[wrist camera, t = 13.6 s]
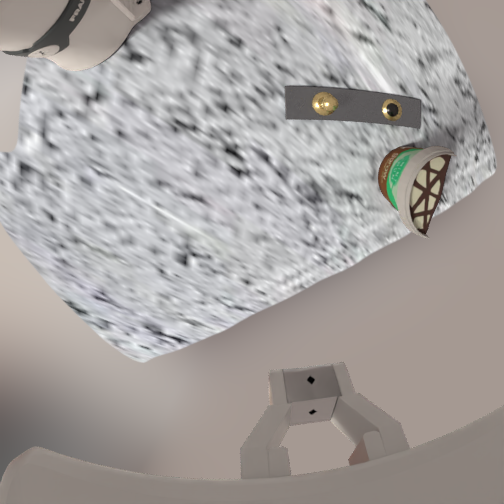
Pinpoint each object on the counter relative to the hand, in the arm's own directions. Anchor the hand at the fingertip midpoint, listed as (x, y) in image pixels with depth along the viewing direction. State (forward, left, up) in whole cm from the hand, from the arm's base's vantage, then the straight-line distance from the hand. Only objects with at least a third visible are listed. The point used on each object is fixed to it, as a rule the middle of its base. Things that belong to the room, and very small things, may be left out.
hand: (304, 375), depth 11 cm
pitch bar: (-10, +14, -31) cm, 36 cm away
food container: (-1, +19, -31) cm, 37 cm away
